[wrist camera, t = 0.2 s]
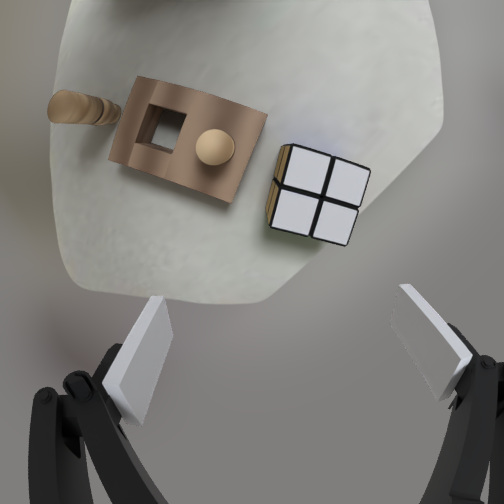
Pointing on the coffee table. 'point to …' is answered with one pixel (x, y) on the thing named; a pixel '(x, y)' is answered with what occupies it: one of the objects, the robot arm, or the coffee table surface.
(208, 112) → the wooden peg block
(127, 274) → the coffee table surface
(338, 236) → the puzzle cube
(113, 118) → the leg
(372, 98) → the coffee table surface
